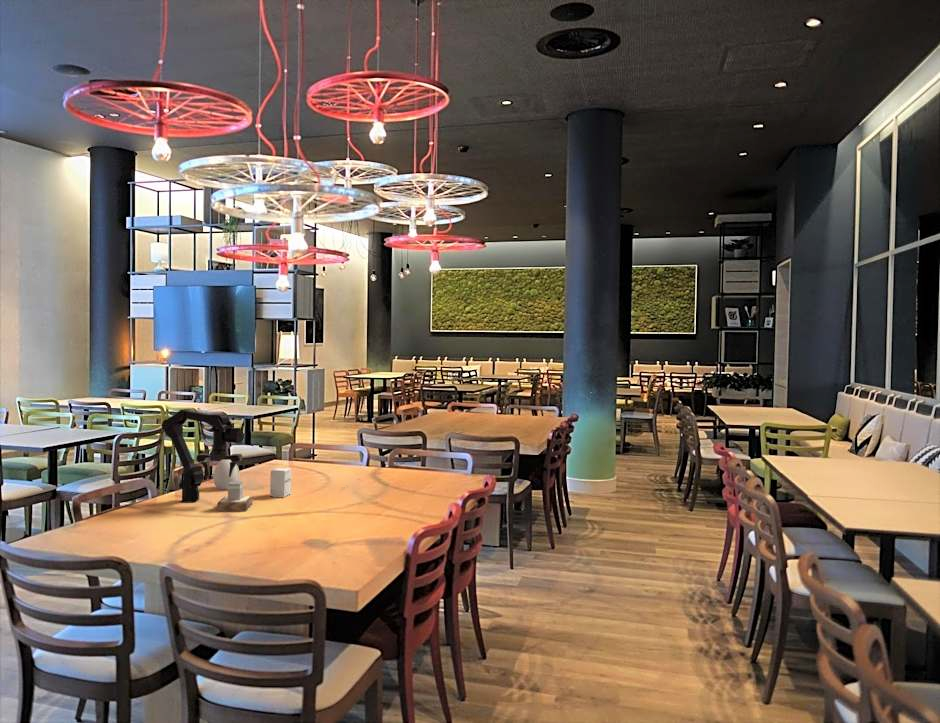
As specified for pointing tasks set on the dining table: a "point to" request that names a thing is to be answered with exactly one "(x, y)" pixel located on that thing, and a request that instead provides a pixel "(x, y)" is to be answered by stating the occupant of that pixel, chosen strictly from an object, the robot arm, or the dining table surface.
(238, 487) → the grey striped cube
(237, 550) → the dining table surface
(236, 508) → the stand
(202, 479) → the robot arm
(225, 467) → the decorative egg
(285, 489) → the supplement box
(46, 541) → the dining table surface
